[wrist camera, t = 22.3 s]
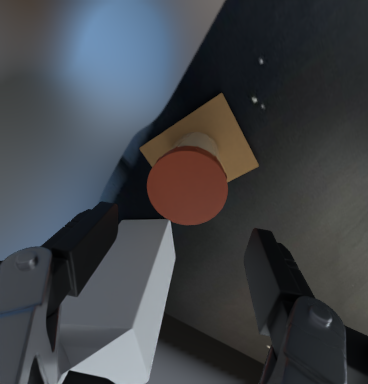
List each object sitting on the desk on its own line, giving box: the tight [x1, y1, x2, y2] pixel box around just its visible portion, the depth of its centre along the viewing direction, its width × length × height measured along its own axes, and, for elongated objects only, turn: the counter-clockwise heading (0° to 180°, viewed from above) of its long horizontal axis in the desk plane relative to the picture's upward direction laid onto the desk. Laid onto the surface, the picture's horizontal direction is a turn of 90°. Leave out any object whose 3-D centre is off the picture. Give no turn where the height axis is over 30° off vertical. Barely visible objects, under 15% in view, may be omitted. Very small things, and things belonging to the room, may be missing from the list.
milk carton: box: [57, 219, 175, 384], centre depth 21 cm, size 7×7×19 cm
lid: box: [147, 146, 228, 225], centre depth 15 cm, size 6×6×2 cm
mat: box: [139, 93, 259, 182], centre depth 24 cm, size 11×9×1 cm
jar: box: [169, 132, 222, 165], centre depth 19 cm, size 6×6×9 cm
